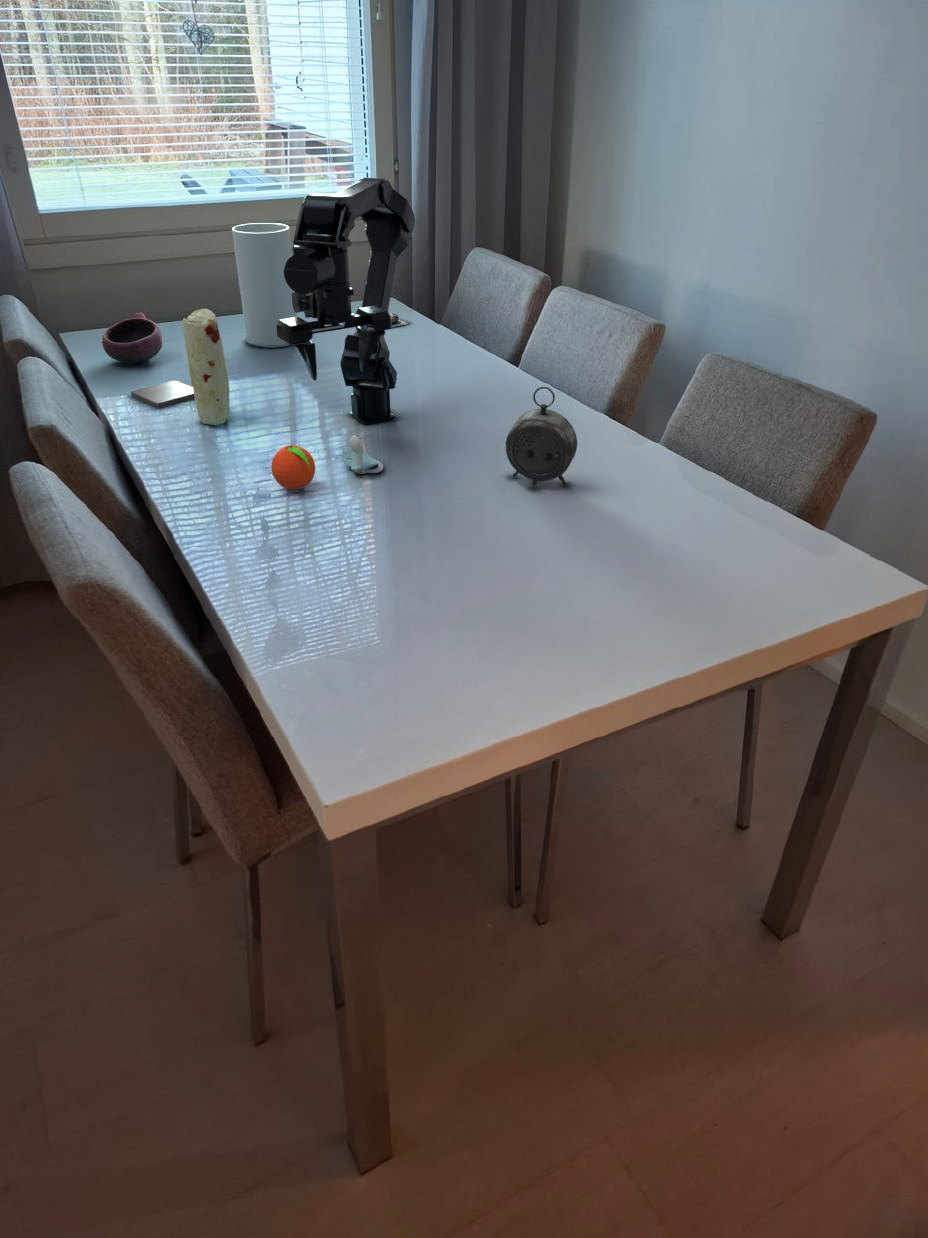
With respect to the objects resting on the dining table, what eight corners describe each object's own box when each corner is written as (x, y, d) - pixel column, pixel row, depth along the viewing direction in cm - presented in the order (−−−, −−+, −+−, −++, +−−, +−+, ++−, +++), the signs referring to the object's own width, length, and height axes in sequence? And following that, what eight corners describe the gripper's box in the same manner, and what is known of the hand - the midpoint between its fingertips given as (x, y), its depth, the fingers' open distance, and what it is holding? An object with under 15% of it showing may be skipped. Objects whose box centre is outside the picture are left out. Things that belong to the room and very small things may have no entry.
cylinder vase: (295, 348, 202) (283, 233, 188) (241, 348, 202) (226, 232, 188) (304, 333, 212) (293, 223, 198) (253, 333, 212) (239, 222, 199)
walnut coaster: (175, 384, 181) (174, 379, 180) (202, 395, 175) (201, 390, 175) (131, 396, 175) (130, 391, 174) (158, 408, 169) (157, 403, 169)
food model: (236, 427, 161) (220, 317, 150) (199, 431, 159) (181, 320, 148) (231, 409, 169) (216, 303, 158) (196, 412, 167) (178, 305, 156)
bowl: (173, 363, 192) (167, 326, 188) (114, 373, 186) (106, 335, 182) (152, 345, 204) (145, 310, 199) (96, 354, 198) (87, 318, 193)
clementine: (330, 489, 139) (326, 447, 135) (295, 503, 135) (291, 460, 131) (299, 474, 144) (295, 434, 140) (264, 487, 140) (259, 446, 136)
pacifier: (370, 458, 150) (338, 465, 147) (369, 423, 146) (337, 429, 144) (390, 473, 145) (358, 480, 142) (390, 438, 141) (357, 444, 139)
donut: (365, 321, 222) (364, 313, 220) (389, 316, 226) (389, 308, 225) (383, 328, 216) (383, 320, 215) (408, 323, 220) (408, 315, 219)
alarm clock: (574, 482, 142) (582, 385, 133) (566, 495, 138) (574, 396, 129) (510, 472, 145) (514, 377, 136) (501, 485, 141) (504, 388, 132)
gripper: (360, 264, 150) (365, 354, 159) (258, 277, 142) (269, 371, 151) (391, 277, 143) (395, 371, 151) (285, 291, 134) (295, 389, 143)
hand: (338, 375), depth 149 cm, fingers open, 9 cm apart
